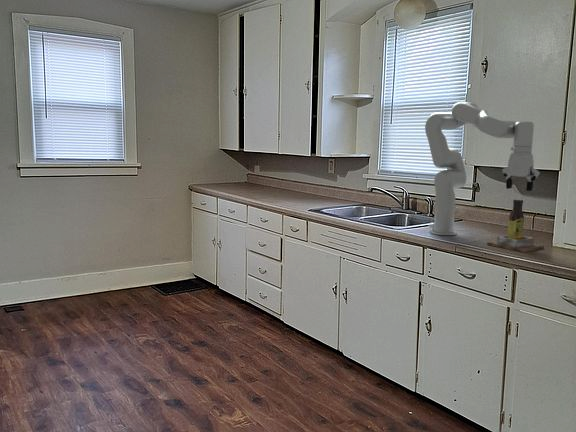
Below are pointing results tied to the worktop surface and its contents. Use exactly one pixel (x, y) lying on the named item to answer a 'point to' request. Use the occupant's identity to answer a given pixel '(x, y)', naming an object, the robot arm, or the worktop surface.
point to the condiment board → (516, 244)
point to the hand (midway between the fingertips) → (518, 189)
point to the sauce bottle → (516, 221)
